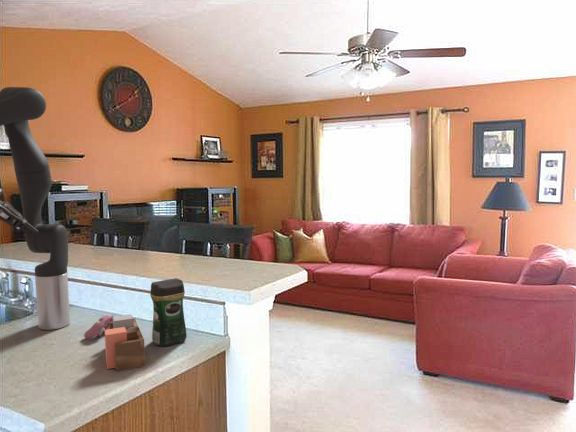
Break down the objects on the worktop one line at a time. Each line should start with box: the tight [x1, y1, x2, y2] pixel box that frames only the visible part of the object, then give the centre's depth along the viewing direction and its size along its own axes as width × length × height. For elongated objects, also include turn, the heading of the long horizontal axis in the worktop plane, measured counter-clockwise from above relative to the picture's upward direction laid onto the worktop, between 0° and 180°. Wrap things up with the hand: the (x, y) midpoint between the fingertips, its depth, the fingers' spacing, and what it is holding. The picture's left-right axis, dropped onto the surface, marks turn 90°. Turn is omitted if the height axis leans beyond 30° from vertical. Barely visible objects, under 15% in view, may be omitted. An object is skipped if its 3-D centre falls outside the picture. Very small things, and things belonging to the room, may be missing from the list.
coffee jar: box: [149, 277, 188, 347], centre depth 129 cm, size 10×8×19 cm
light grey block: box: [113, 313, 134, 329], centre depth 124 cm, size 4×5×9 cm
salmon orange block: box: [104, 327, 127, 370], centre depth 114 cm, size 4×5×9 cm
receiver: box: [109, 318, 146, 372], centre depth 120 cm, size 18×7×7 cm, turn 26°
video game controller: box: [83, 313, 114, 340], centre depth 136 cm, size 10×5×7 cm, turn 170°
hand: (35, 234), depth 114 cm, fingers closed
